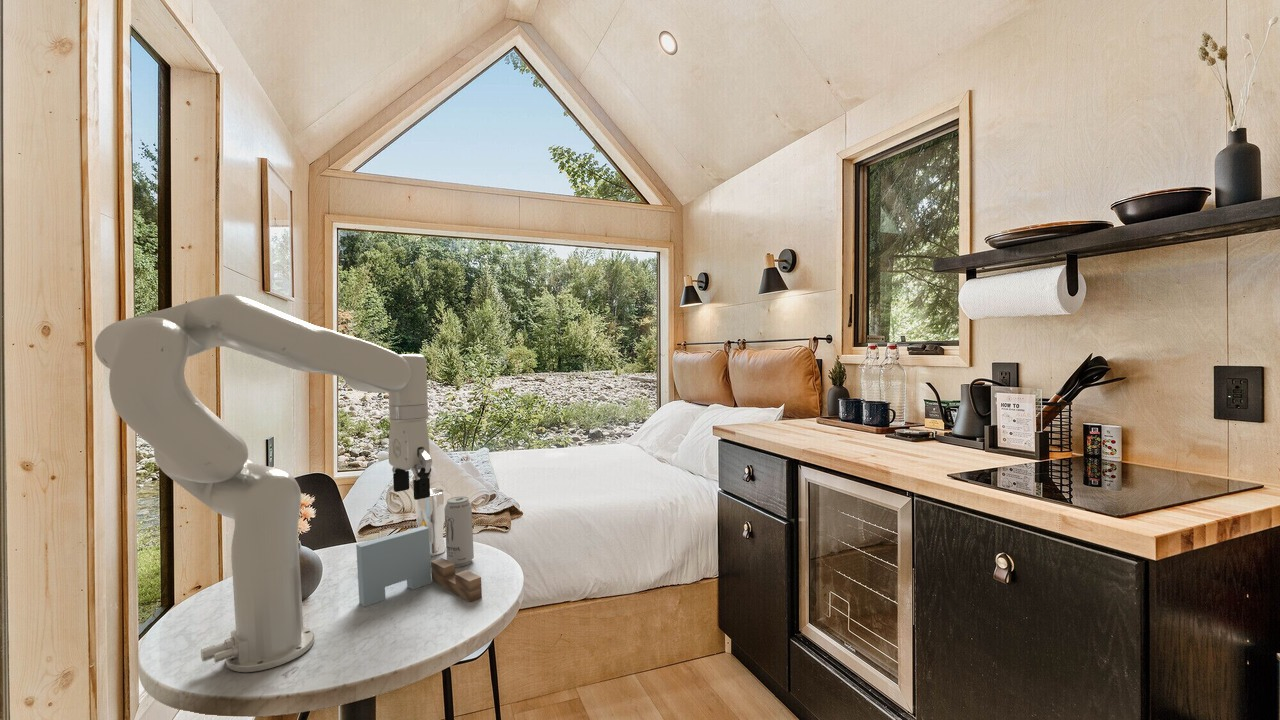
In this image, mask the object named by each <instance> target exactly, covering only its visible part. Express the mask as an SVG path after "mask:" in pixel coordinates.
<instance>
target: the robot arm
mask: <svg viewBox="0 0 1280 720" xmlns="http://www.w3.org/2000/svg"><path fill="white" fill-rule="evenodd" d="M218 347H220V348H221V347H225V348H229V349H232V350H236V351H238V352H241V353H243V354H247V355H250V356H254V357H257V358H260V359H263V360H266V361H268V362H269V361H270V362H272V363H275V364H276V365H277V364H278V365H280V366H283V367H286V368H289V369H292V370H296V371H301V372H305V373H311V374H312V373H313V374H322V375H330V376H331V375H332V376H337V377H341V378H343V380H344V382H345V383H346V384H347V385H348V386H349V387H350V388H351V389H353V390H356V391H359V392H363V393H365V392H366V393H367V392H368V393H388V413H389V422H390V423H389V432H388V433H389V434H388V463H389V464H390V466H392V469H391V471H392V476H393V477H392V478H393V480H392V481H393V492H395V493H398V492H402V491H408V490H410V470H411V471H412V473H413V476H414V479H413V480H412V483H413V487H412V488H413V499H414V500H418V499H423V498H428V497H430V489H431V483H430V482H431V481H430V480H431V475H432V474H431V472H432V465H433V459H432V458H431V455H430V451H431V450H430V441H429V438H430V437H429V429H428V423H427V420H428V419H429V402H428V375H427V373H428V371H427V366H428V365H427V359H426V357H425V356H424V355H423V354H419V353H406V354H405V353H402V354H398V353H396V352H394V351H392V350H390V349H387V348H385V347H382V346H380V345H377V344H375V343H373V342H370V341H368V340H367V341H366V340H363V339H361V338H358V337H354V336H350V335H348V334H344V333H340V332H337V331H336V330H333V329H328V328H326V327H321V326H319V325H314V324H312V323H310V322H307V321H304V320H301V319H299V318H297V317H294V316H292V315H289V314H287V313H284V312H283V311H280V310H277V309H275V308H272V307H271V306H268V305H266V304H263V303H260V302H258V301H255V300H253V299H250V298H247V297H245V296H241V295H236V294H220V295H219V294H217V295H211V296H207V297H201V298H198V299H195V300H192V301H188V302H185V303H182V304H178V305H175V306H171V307H168V308H163V309H161V310H156V311H152V312H150V313H145V314H142V315H137V316H134V317H130V318H126V319H122V320H118V321H114V322H113V323H111V324H109V325H107V326H106V327H105V328H103V329H102V330H101V331H100V332H99V334H98V335H97V337H96V340H95V343H94V351H95V354H96V357H97V360H99V361H100V363H101V364H102V365H104V367H105V368H106V369H109V378H108V381H109V382H108V383H109V394H110V400H111V402H112V405H113V407H114V409H115V411H116V413H117V415H118V416H119V417H120V418H121V420H123V422H124V424H126V425H127V426H128V427H129V428H130V429H131V430H133V431H134V432H135V433H136V434H137V435H139V436H140V437H141V438H142V439H143V440H144V441H145V442H146V443H148V445H150V446H151V447H152V448H153V456H154V460H155V463H156V464H157V466H158V468H159V469H160V470H161V471H162V473H164V474H165V475H166V476H167V477H169V478H170V479H171V480H172V481H174V483H176V484H177V485H179V486H180V487H181V488H183V489H184V490H185V491H186V492H188V493H189V494H190V495H192V496H193V497H195V498H196V499H197V500H198V501H200V502H201V503H202V504H204V505H205V506H206V507H208V508H209V509H210V510H212V511H214V512H215V513H217V514H219V515H221V516H223V517H226V518H229V519H232V520H233V521H234V527H233V528H234V529H233V534H232V540H231V546H230V547H231V548H230V551H231V553H230V556H231V557H230V560H231V562H230V563H231V572H232V573H231V574H232V586H233V589H232V590H233V605H234V607H233V608H234V618H235V619H234V620H235V630H232V631H231V632H230V637H229V638H227V639H224V641H223V642H222V643H218V644H216V645H215V644H214V645H211V646H208V647H205V648H202V649H200V658H201V661H202V663H204V662H206V661H210V660H212V659H213V662H214V663H219V662H220V661H224V660H225V662H226V667H227V668H228V669H229V670H231V671H234V672H239V673H250V672H251V673H254V672H260V671H266V670H270V669H272V668H275V667H276V668H277V667H278V666H281V665H284V664H287V663H289V662H291V661H293V660H295V659H297V658H299V657H300V656H302V655H303V654H304V653H306V652H308V650H309V649H311V647H312V646H313V645H314V642H315V633H314V631H313V630H312V629H310V628H308V627H305V626H304V616H303V614H304V613H303V601H302V600H303V598H302V597H303V596H302V582H301V581H302V580H301V577H302V576H301V564H300V552H299V551H300V548H299V546H300V545H299V521H300V512H301V507H302V506H301V505H302V491H301V487H300V486H299V482H297V480H296V479H295V477H293V476H292V475H291V474H290V473H289V472H287V471H285V470H283V469H280V468H277V467H273V466H267V465H263V464H257V463H255V462H253V461H252V460H250V459H249V450H248V446H247V443H246V441H245V440H244V438H243V437H242V436H241V435H240V434H239V433H238V432H237V431H236V430H234V429H233V428H232V427H231V426H230V425H228V424H227V423H226V422H224V421H223V420H222V419H221V418H220V417H219V416H218V415H216V414H215V413H214V412H213V411H212V410H211V409H210V408H209V407H207V406H206V404H205V403H203V402H202V401H201V400H200V399H199V398H198V397H197V396H196V395H195V394H194V392H192V391H191V389H190V388H189V386H188V384H187V383H186V379H185V367H186V363H187V361H188V358H190V357H192V356H195V355H198V354H201V353H203V352H206V351H208V350H211V349H215V348H218Z"/></svg>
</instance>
